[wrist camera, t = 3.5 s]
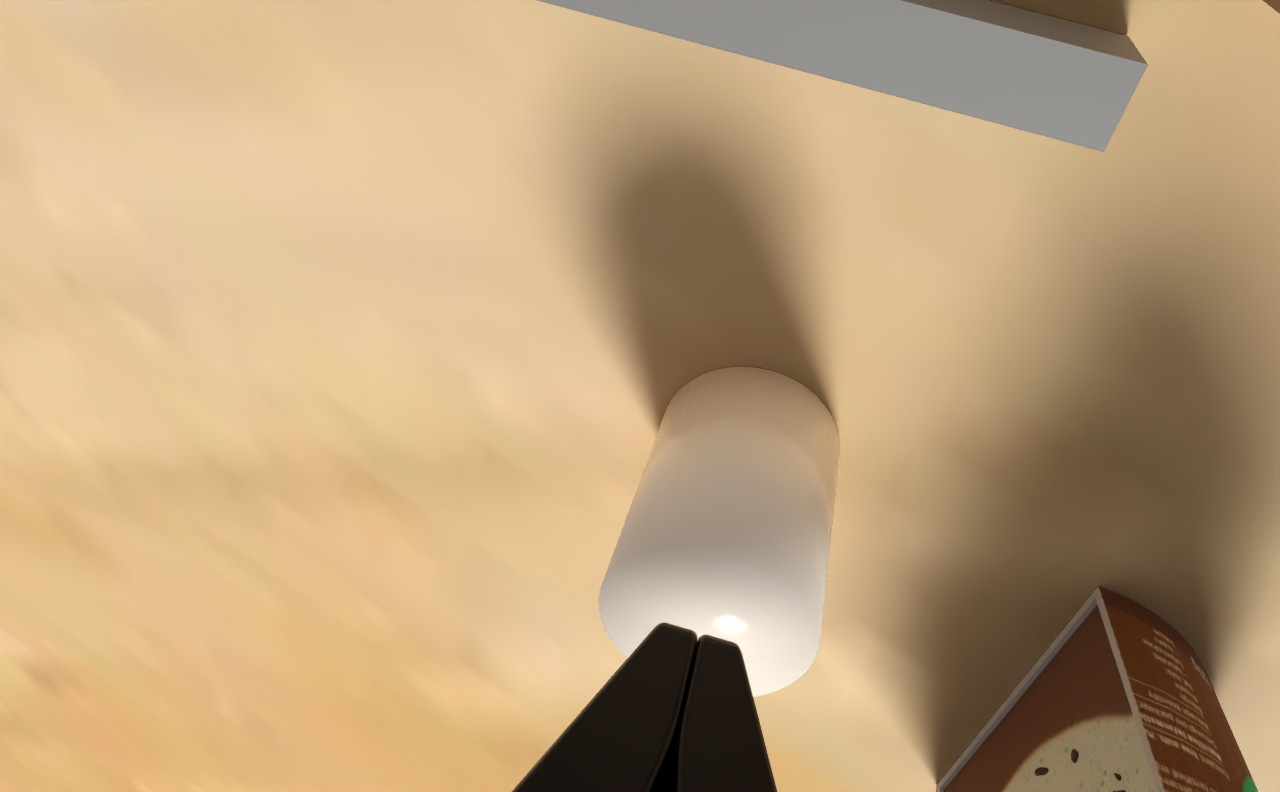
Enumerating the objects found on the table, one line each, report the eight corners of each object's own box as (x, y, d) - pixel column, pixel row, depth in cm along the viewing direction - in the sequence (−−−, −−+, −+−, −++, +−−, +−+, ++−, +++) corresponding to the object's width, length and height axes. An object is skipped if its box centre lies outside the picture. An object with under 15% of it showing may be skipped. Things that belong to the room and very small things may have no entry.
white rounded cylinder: (864, 398, 22) (850, 581, 18) (809, 531, 25) (784, 723, 20) (682, 344, 23) (619, 510, 18) (646, 482, 25) (583, 658, 20)
